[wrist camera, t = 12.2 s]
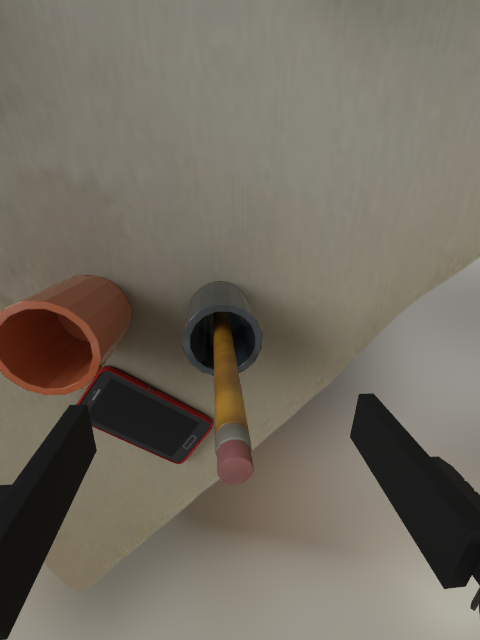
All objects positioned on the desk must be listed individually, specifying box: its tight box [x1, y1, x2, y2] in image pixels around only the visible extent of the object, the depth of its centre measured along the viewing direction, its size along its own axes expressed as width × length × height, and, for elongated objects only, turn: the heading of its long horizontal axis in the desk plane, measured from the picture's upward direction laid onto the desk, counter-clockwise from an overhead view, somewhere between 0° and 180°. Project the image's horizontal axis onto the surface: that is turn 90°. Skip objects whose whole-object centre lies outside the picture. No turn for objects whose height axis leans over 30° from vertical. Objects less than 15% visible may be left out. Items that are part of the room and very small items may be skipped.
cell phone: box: [77, 366, 213, 464], centre depth 33 cm, size 8×15×1 cm, turn 53°
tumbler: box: [183, 281, 262, 376], centre depth 27 cm, size 6×6×8 cm
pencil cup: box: [0, 275, 132, 395], centre depth 25 cm, size 8×8×9 cm
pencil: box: [213, 312, 254, 484], centre depth 21 cm, size 2×2×20 cm
